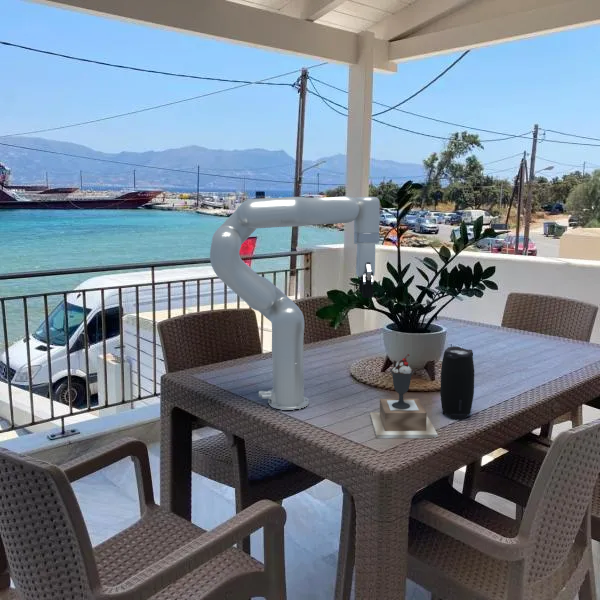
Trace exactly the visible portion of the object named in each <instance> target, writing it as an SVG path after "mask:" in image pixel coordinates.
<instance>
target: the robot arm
mask: <svg viewBox="0 0 600 600" xmlns="http://www.w3.org/2000/svg"><path fill="white" fill-rule="evenodd" d="M380 202H381V201H380V199H379V198H378V197H376V196H357V197H351V196H347V195H344V196H343V195H340V196H331V197H303V196H287V197H285V196H284V197H271V198H269V197H267V198H266V197H265V198H249V199H246V200H244V201H243V202H242V203H241V204H240V205H239V206H238V207H237V209H235V211H233V212H232V214H231V215H230V216H229V217H228V218H227V219H226V220H224V222H223V223H222V224H221V225H220V226H219V227H218V228H217V229H216V230H215V232H214V233H213V234H212V238H211V244H210V249H209V250H210V251H209V261H210V265H211V267H212V270H213V271H214V273H215V275H216V276H217V277H218V278H219V280H220V281H221V282H222V283H224V284H225V286H227V287H228V288H229V289H230V290H231V291H232V292H233V293H234V294H236V295H237V296H238V297H239V298H240V299H242V301H244V302H245V303H246V304H247V306H249V308H251V309H253V310H254V311H257V312H259V313H260V314H261V315H262V316H263V317H265V318H266V319H267V320H269V322H271V328H272V329H271V355H272V356H271V357H272V358H271V360H272V361H271V362H272V364H271V365H272V366H271V367H272V368H271V369H272V388H271V389H268V390H258V397H259V398H261V399H262V400H268V401H267V404H268V403H269V405H271V406H272V407H275V408H278V409H284V410H293V409H299V410H302V409H301V408H303V409H304V407H305V408H306V406H307V407H308V406H309V405H310V399H309V398H308V397H307V396H305V387H304V385H305V376H304V375H305V374H304V372H305V371H304V369H305V367H304V364H305V363H304V362H305V361H304V336H305V335H304V333H305V318H304V314H303V311H302V310H301V309H300V307H299V306H298V305H297V304H296V303H295V302H294V301H293V300H292V299H291V298H290V297H289V296H288V295H286V293H284V292H283V291H282V290H281V289H279V288H278V287H277V286H276V285H275V284H274V283H273V282H272V281H271V280H269V279H268V278H266V277H264V276H261V275H259V274H258V273H257V272H256V271H254V270H253V269H252V268H251V267H250V266H249V265H248V264H247V263H245V262H244V261H243V259H242V258H241V256H240V252H241V249H242V245H243V244H244V243H245V241H247V240H248V238H250V236H251V235H252V234H253V233H254V232H255V230H257V229H270V228H287V227H288V228H289V227H290V228H291V227H292V228H293V227H305V226H313V225H331V224H332V225H335V224H349V223H352V222H353V244H355V245H356V257H355V258H356V267H355V275H356V276H357V277H358V278H359V279H358V280H359V284H358V287H359V290H358V291H359V293H362V298H363V299H370V298H371V299H372V298H374V278H373V277H374V276H375V274H376V245H379V244H380V209H381V208H380V204H381V203H380ZM269 405H268V406H269ZM293 411H294V410H293Z"/></svg>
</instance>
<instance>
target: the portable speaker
mask: <svg viewBox="0 0 600 600" xmlns="http://www.w3.org/2000/svg"><path fill="white" fill-rule="evenodd" d="M473 357H474V352H473V350H472V349H466V348H463V347H460V346H454V345H453V346H450V347H447V348H446V349H445V350H444V353H443V357H442V362H441V367H440V368H441V369H440V402H441V404H440V405H441V410H442V415H443V416H445V415H447V416H449V418H450V419H452V420H454V419H455V421H457V419H459V420H458V421H462V419H463V420H466V418H467V417H468V416H469V415H471V412H472V408H473V401H474V396H475V365H474V358H473Z"/></svg>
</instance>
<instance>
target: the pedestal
mask: <svg viewBox="0 0 600 600" xmlns="http://www.w3.org/2000/svg"><path fill="white" fill-rule="evenodd" d="M403 400H404V402H405V403H408V404H409V405H410V407H409V408H407V409H397V408H394V407H393V406H392V404H393V403H395V402H398V401H399V398H379V412H377V411H376V412H373V411H372V412H369V416H370V420H371V423H372V427H373V430H374V434H376V435H375V438H376V439H437V438H436V437H438V433H437V431H436V429H435V427H434V425H433V424H432V421H431V420H430V418H429V416H428V415H427V413H428V412H427V411H426V409H425V408H424V405H423V403H422V402H421V400H420V399H419V398H403ZM433 437H434V438H433ZM438 438H439V437H438Z"/></svg>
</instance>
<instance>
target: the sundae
mask: <svg viewBox="0 0 600 600" xmlns="http://www.w3.org/2000/svg"><path fill="white" fill-rule="evenodd" d="M408 357H410V354H409V353H407V355H406V356H405V357H404V358H402V359H400V360H398V361H397V360H393V366H392V368H389V372H390V373H391V375H392V383H393V389H394V391H395V392H396V393H397V394H398V399H399V401H398V402H395V403H393V404H392V406H393V407H394V408H397V409H407V408H409V407H410V405H409V404H408V403H405V402H404V400H403V399H404V395H405V394H406V393H407V392H408V391H409V389H410V386H411V380H412V379H411V378H412V375H413V374H414V373H415V369H412V368H411V366H410V365H409V361H407V358H408Z"/></svg>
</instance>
